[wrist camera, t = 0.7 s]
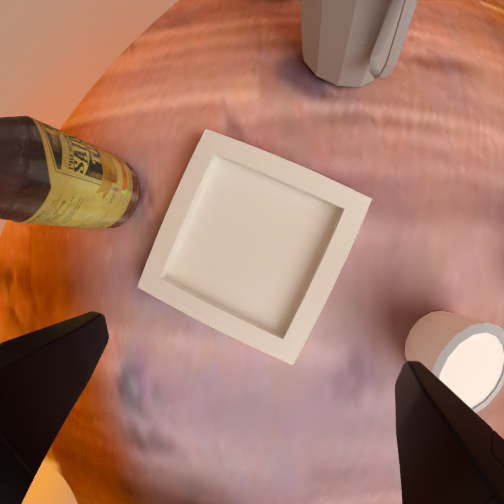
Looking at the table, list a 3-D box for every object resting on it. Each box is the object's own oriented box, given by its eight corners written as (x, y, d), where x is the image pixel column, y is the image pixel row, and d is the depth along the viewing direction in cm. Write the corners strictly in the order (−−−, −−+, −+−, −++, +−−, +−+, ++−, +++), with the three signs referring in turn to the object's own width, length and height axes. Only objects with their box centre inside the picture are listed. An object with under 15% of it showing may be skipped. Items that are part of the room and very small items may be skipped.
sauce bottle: (157, 183, 25) (-65, 99, 5) (117, 244, 25) (-108, 250, 6) (108, 145, 25) (-77, 62, 6) (73, 202, 26) (-119, 174, 6)
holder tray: (293, 356, 24) (292, 365, 22) (147, 284, 25) (137, 287, 23) (366, 202, 22) (371, 198, 21) (211, 136, 24) (205, 128, 22)
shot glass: (382, 338, 23) (411, 372, 16) (447, 285, 22) (494, 299, 15) (418, 396, 22) (448, 437, 15) (477, 346, 21) (521, 373, 14)
